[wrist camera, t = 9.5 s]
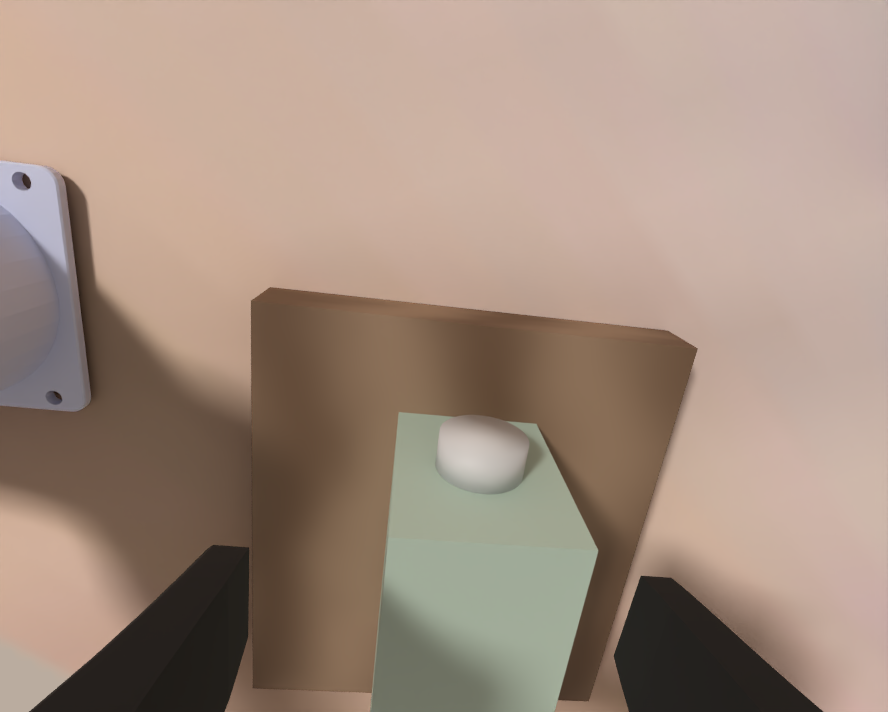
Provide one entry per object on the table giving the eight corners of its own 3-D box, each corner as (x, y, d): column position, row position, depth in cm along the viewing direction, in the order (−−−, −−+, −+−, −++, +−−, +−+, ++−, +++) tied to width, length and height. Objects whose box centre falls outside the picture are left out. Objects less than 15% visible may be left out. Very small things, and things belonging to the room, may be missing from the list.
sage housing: (378, 621, 19) (361, 809, 13) (401, 383, 16) (392, 497, 10) (495, 627, 19) (527, 811, 14) (541, 396, 16) (608, 512, 10)
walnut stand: (267, 644, 22) (252, 687, 20) (270, 287, 16) (251, 301, 15) (574, 658, 23) (588, 701, 21) (667, 330, 18) (697, 348, 16)
